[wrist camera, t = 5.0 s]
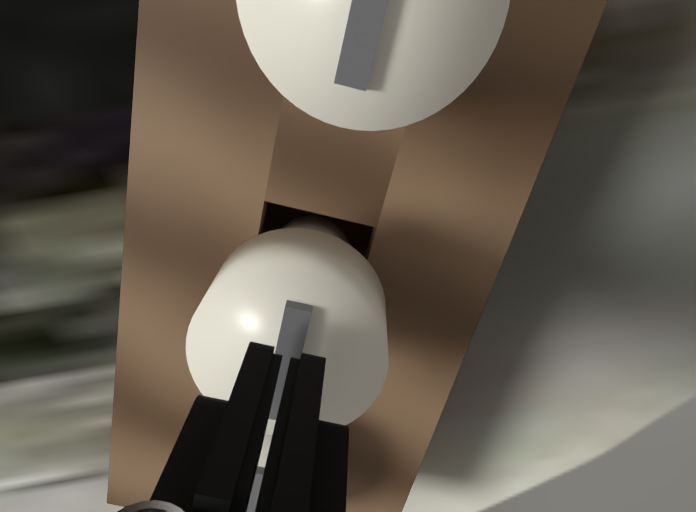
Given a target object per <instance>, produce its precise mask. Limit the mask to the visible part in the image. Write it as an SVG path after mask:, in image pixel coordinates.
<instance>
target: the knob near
mask: <svg viewBox="0 0 696 512" xmlns="http://www.w3.org/2000/svg"><path fill="white" fill-rule="evenodd" d="M236 3H237V10H238V16H239V19H240V23H241V26H242V30H243V33H244V36H245V38H246V41H247V43H248V46H249V48H250V51H251V53H252V54H253V56H254V58H255V60H256V62H257V63H258V65H259V67H260V69H261V70H262V71H263V73H264V74H265V75H266V77H267V78H268V80H269V81H270V82H271V83H272V84H273V86H274V87H275V88H276V89H277V90H278V91H279V92H280V93H281V94H282V95H283V96H284V97H285V98H287V99H288V100H289V101H290V102H291V103H293V104H294V105H295V106H296V107H298V108H299V109H301V110H302V111H304V112H306V113H307V114H309V115H310V116H312V117H315V118H317V119H319V120H321V121H323V122H325V123H328V124H332V125H335V126H338V127H341V128H347V129H352V130H361V131H379V130H390V129H394V128H399V127H404V126H407V125H410V124H413V123H415V122H418V121H421V120H423V119H425V118H427V117H429V116H431V115H433V114H435V113H437V112H438V111H440V110H441V109H442V108H444V107H445V106H447V105H448V104H450V103H451V102H452V101H453V100H455V99H456V98H457V97H458V96H459V95H460V94H461V93H463V92H464V91H465V90H466V89H467V87H468V86H469V85H470V84H471V83H472V82H473V81H474V80H475V78H476V77H477V76H478V74H479V73H480V72H481V70H482V69H483V67H484V66H485V65H486V63H487V61H488V60H489V58H490V56H491V54H492V52H493V50H494V49H495V47H496V45H497V42H498V40H499V37H500V35H501V32H502V30H503V27H504V24H505V20H506V16H507V12H508V9H509V3H510V0H236Z"/></svg>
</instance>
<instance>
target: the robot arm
mask: <svg viewBox="0 0 696 512" xmlns="http://www.w3.org/2000/svg"><path fill="white" fill-rule="evenodd" d="M274 348H275V347H274V346H270V345H265V344H260V343H256V342H251V341H250V343H249V345H248V348H247V351H246V353H245V356H244V359H243V362H242V365H241V367H240V370H239V373H238V376H237V378H236V381H235V384H234V387H233V389H232V392H231V395H230V398H229V400H228V401H226V400H222V399H217V398H212V397H207V396H203V395H198V396H197V397H196V399H195V401H194V403H193V405H192V407H191V409H190V412H189V414H188V416H187V418H186V420H185V423H184V425H183V427H182V429H181V432H180V434H179V436H178V438H177V440H176V443H175V445H174V447H173V449H172V451H171V454H170V456H169V458H168V460H167V463H166V465H165V467H164V469H163V471H162V474H161V476H160V478H159V480H158V483H157V485H156V487H155V489H154V491H153V494H152V496H151V498H150V500H149V501H141V502H138V503H135V504H131V505H128V506H126V507H124V508H123V509H121V510H120V511H118V512H247V508H248V503H249V499H250V495H251V491H252V487H253V483H254V479H255V475H256V471H257V466H258V462H259V458H260V454H261V450H262V445H263V441H264V436H265V432H266V428H267V423H268V419H269V414H270V410H271V406H272V401H273V397H274V392H275V388H276V383H277V379H278V375H279V370H280V366H281V361H282V357H283V355H279V354H274ZM325 364H326V358H325V357H320V356H315V355H311V354H306V353H302V354H301V357H300V359H297V358H293V357H291V358H290V362H289V366H288V371H287V375H286V379H285V384H284V388H283V392H282V396H281V401H280V405H279V409H278V413H277V418H276V422H275V426H274V430H273V435H272V439H271V443H270V447H269V452H268V456H267V460H266V465H265V469H264V474H263V478H262V482H261V487H260V491H259V496H258V500H257V505H256V509H255V512H346V496H347V472H348V448H349V427H348V426H346V425H341V424H336V423H331V422H327V421H322V420H319V415H320V407H321V398H322V390H323V381H324V373H325Z"/></svg>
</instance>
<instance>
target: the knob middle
mask: <svg viewBox="0 0 696 512" xmlns="http://www.w3.org/2000/svg"><path fill="white" fill-rule="evenodd" d="M250 341H251V342H256V343H260V344H265V345H270V346H274V347H275V348H274V354H279V355H283V357H282V361H281V366H280V370H279V375H278V379H277V383H276V388H275V392H274V397H273V401H272V406H271V410H270V414H269V419H268V423H267V428H266V432H265V434H267V435H273V430H274V426H275V422H276V418H277V413H278V409H279V405H280V401H281V396H282V392H283V388H284V384H285V379H286V375H287V371H288V366H289V362H290V358H291V357H293V358H297V359H300V357H301V354H302V353H306V354H311V355H315V356H320V357H325V358H326V364H325V373H324V381H323V390H322V398H321V407H320V415H319V420H322V421H327V422H331V423H336V424H341V425H347V424H349V423H351V422H352V421H354V420H355V419H357V418H358V417H360V416H361V415H362V414H363V413H364V412H365V411H366V410H367V409H368V408H369V407H370V406H371V405H372V404H373V402H374V401H375V400H376V398H377V397H378V395H379V393H380V392H381V390H382V387H383V385H384V383H385V380H386V376H387V372H388V362H389V357H388V340H387V323H386V307H385V296H384V292H383V288H382V285H381V282H380V280H379V278H378V276H377V274H376V272H375V270H374V269H373V267H372V266H371V265H370V263H369V262H368V261H367V260H366V259H365V258H364V257H363V256H362V255H361V254H360V253H359V252H358V251H357V250H356V249H354V248H353V247H352V246H351V245H350V244H349V240H348V238H347V235H346V234H345V232H344V231H343V229H342V228H341V227H340V226H339V225H338V224H337V223H335V222H334V221H332V220H331V219H329V218H326V217H324V216H320V215H303V216H299V217H296V218H294V219H292V220H290V221H289V222H288V223H286V224H285V225H284V226H283V228H282V229H277V230H272V231H268V232H265V233H262V234H259V235H257V236H255V237H253V238H251V239H249V240H247V241H246V242H244V243H243V244H241V245H240V246H239V247H238V248H236V249H235V250H234V251H233V252H232V253H231V254H230V255H229V257H228V258H227V259H226V260H225V262H224V263H223V265H222V267H221V268H220V270H219V272H218V274H217V275H216V277H215V279H214V280H213V282H212V284H211V286H210V287H209V289H208V291H207V292H206V294H205V296H204V298H203V299H202V301H201V303H200V305H199V306H198V308H197V310H196V311H195V313H194V315H193V317H192V319H191V322H190V324H189V327H188V331H187V336H186V358H187V363H188V367H189V370H190V373H191V375H192V378H193V380H194V382H195V384H196V385H197V387H198V389H199V390H200V392H201V393H202V394H203V396H207V397H212V398H217V399H222V400H226V401H228V400H229V398H230V395H231V392H232V389H233V387H234V384H235V381H236V378H237V376H238V373H239V370H240V367H241V365H242V362H243V359H244V356H245V353H246V351H247V348H248V345H249V343H250Z"/></svg>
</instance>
